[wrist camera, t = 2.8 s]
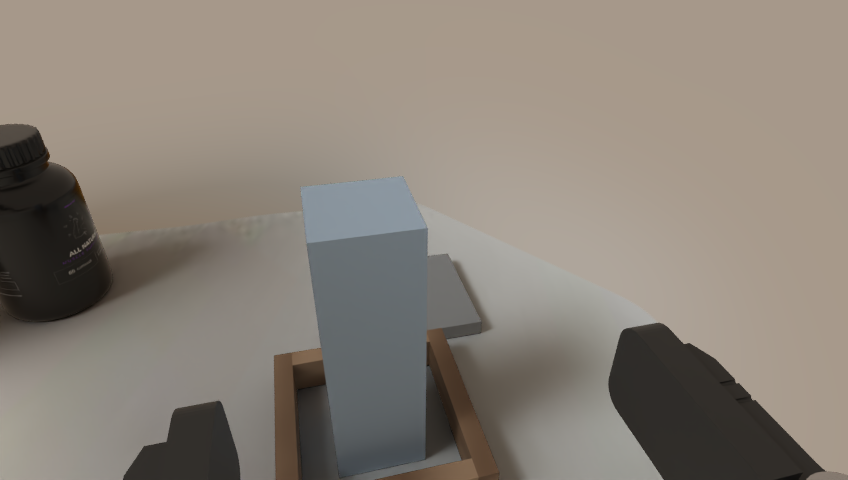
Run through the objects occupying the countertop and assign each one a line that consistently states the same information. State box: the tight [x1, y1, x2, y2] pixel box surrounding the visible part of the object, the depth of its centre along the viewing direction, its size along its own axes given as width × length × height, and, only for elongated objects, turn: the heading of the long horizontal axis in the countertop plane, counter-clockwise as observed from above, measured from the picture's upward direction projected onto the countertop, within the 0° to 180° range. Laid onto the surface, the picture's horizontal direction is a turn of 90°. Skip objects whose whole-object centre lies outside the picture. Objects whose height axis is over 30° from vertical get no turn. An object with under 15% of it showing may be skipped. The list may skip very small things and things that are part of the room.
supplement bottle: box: [0, 124, 113, 322], centre depth 35 cm, size 7×7×12 cm
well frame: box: [274, 328, 499, 480], centre depth 28 cm, size 10×10×2 cm
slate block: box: [301, 176, 428, 478], centre depth 25 cm, size 4×4×14 cm
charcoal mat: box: [427, 254, 482, 339], centre depth 37 cm, size 8×8×1 cm
